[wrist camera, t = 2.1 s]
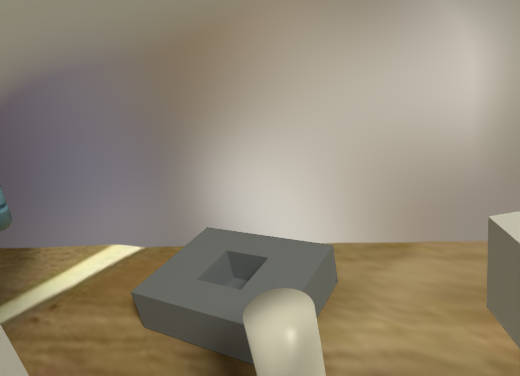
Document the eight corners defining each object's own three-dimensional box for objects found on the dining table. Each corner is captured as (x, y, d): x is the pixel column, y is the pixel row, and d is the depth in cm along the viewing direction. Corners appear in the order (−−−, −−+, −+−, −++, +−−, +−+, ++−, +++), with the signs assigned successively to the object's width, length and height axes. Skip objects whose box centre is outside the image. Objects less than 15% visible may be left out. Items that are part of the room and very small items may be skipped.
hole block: (144, 327, 46) (130, 292, 44) (215, 258, 57) (207, 227, 55) (283, 375, 37) (274, 333, 35) (337, 281, 47) (333, 245, 45)
